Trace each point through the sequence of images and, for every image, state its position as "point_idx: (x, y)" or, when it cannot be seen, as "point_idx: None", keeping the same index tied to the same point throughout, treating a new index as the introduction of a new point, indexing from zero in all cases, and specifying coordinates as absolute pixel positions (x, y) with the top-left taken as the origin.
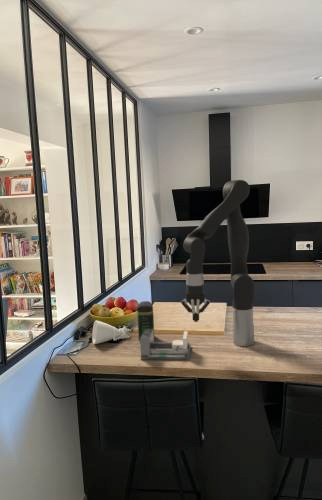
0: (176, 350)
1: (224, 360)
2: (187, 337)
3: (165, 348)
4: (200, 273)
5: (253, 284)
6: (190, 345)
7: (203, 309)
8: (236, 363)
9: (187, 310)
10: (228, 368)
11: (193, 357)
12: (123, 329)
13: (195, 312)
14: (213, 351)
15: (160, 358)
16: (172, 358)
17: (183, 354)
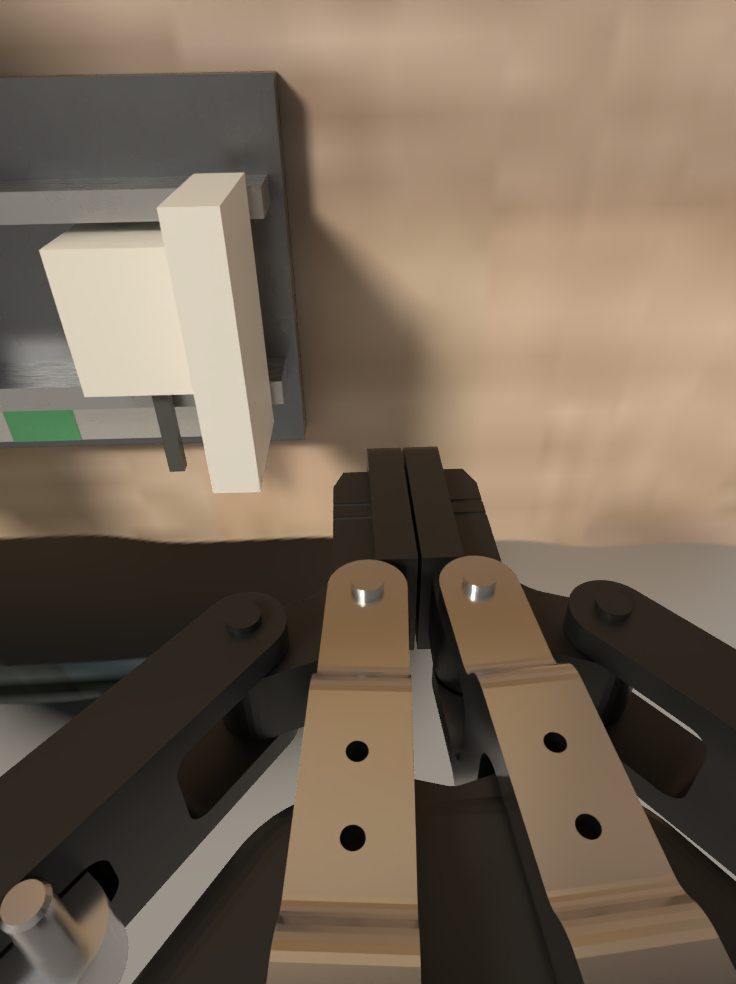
0: (173, 468)
1: (623, 413)
2: (243, 282)
3: None
4: None
5: None
6: (276, 111)
7: (648, 750)
8: (707, 458)
9: (204, 744)
10: (618, 531)
11: (342, 368)
12: None
13: (407, 560)
14: (557, 213)
15: (39, 442)
16: (152, 438)
17: None
